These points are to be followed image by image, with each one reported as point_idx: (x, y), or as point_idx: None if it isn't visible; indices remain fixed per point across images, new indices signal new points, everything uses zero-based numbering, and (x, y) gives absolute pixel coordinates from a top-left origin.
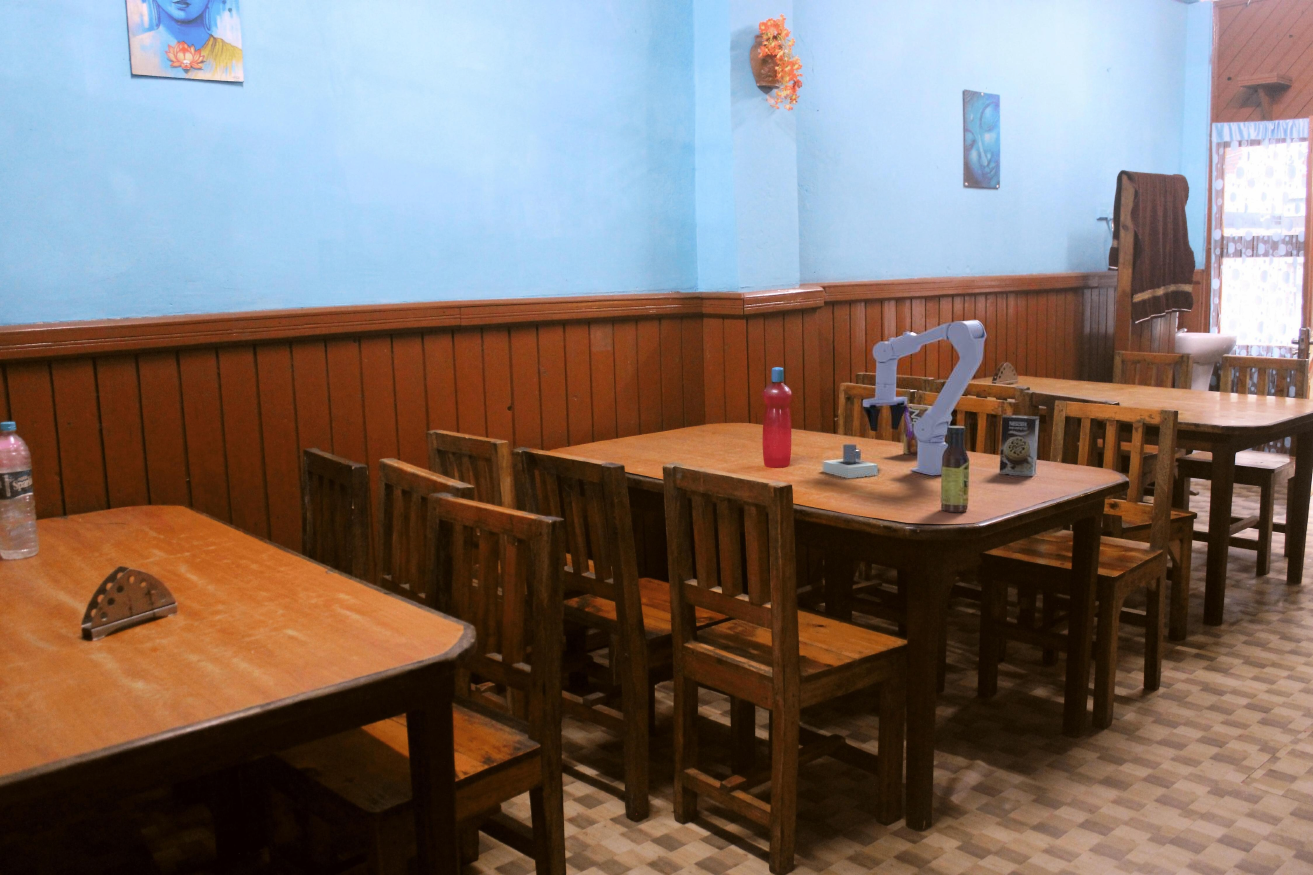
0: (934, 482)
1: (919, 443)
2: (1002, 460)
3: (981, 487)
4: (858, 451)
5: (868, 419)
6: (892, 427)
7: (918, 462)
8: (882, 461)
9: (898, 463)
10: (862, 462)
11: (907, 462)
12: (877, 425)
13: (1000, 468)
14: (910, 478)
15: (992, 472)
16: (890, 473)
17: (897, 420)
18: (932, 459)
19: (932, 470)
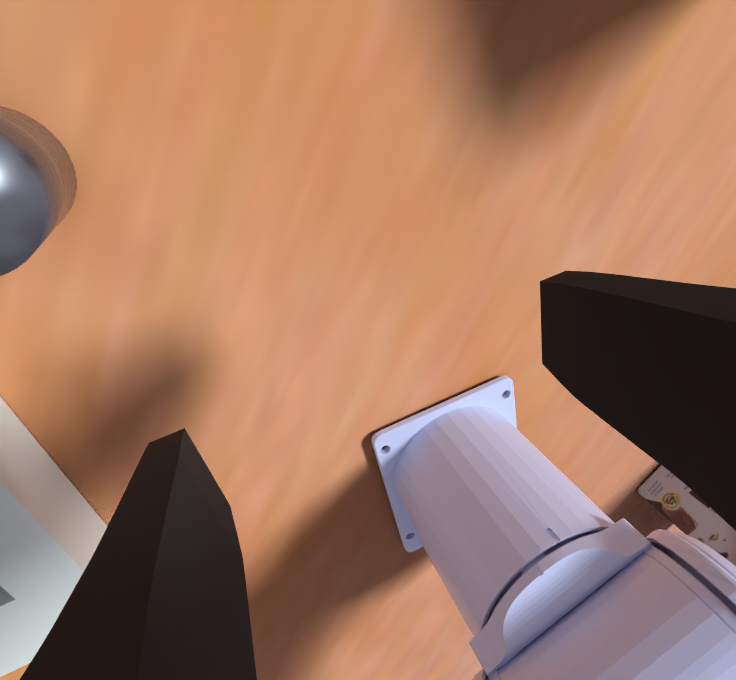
0: (350, 646)
1: (472, 617)
2: (686, 534)
3: (453, 676)
4: (3, 273)
5: (55, 651)
6: (554, 304)
7: (412, 508)
8: (342, 42)
9: (420, 176)
10: (9, 567)
11: (493, 151)
12: (243, 607)
13: (655, 507)
14: (287, 597)
15: (643, 459)
16: (230, 500)
17: (654, 447)
18: (452, 592)
19: (424, 546)
